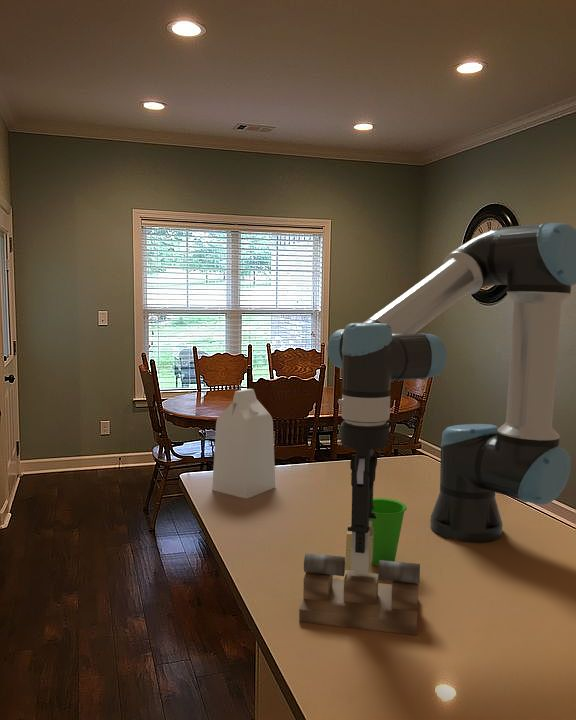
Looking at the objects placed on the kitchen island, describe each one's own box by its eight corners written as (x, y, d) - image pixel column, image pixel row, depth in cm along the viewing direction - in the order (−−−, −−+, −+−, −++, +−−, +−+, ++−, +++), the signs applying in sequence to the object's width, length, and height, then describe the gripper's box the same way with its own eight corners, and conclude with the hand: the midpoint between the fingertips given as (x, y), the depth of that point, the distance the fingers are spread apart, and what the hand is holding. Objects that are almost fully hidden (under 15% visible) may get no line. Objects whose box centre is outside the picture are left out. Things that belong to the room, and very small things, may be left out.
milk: (241, 479, 176) (242, 385, 174) (275, 487, 170) (276, 389, 167) (212, 490, 167) (211, 390, 164) (246, 498, 160) (246, 395, 157)
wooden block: (372, 562, 105) (373, 527, 105) (370, 573, 101) (372, 536, 101) (348, 560, 106) (349, 524, 105) (345, 570, 102) (346, 533, 102)
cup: (393, 575, 117) (395, 516, 116) (349, 563, 122) (350, 507, 121) (412, 558, 125) (413, 503, 124) (369, 548, 130) (370, 495, 129)
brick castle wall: (418, 598, 108) (420, 550, 108) (417, 635, 97) (419, 581, 96) (311, 587, 112) (311, 540, 111) (297, 621, 100) (298, 569, 100)
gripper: (347, 410, 110) (344, 542, 113) (333, 430, 94) (330, 584, 96) (391, 412, 109) (387, 546, 111) (385, 433, 92) (381, 590, 95)
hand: (361, 563), depth 104 cm, fingers closed on wooden block, 4 cm apart
